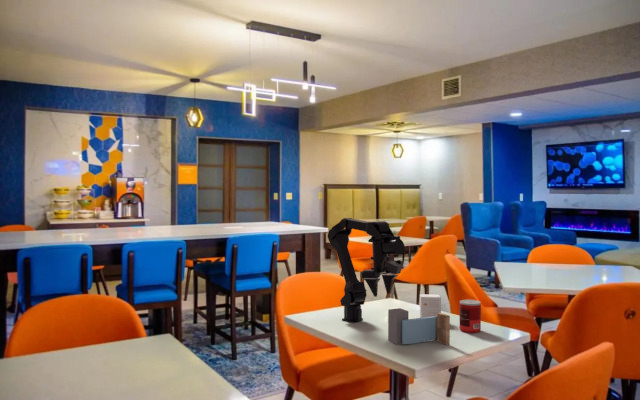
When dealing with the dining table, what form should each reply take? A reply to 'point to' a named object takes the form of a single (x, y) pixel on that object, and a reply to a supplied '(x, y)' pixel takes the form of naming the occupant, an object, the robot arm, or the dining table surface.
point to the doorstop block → (396, 324)
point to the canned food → (470, 316)
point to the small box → (429, 305)
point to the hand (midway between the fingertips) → (382, 294)
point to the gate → (419, 330)
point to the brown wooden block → (443, 328)
